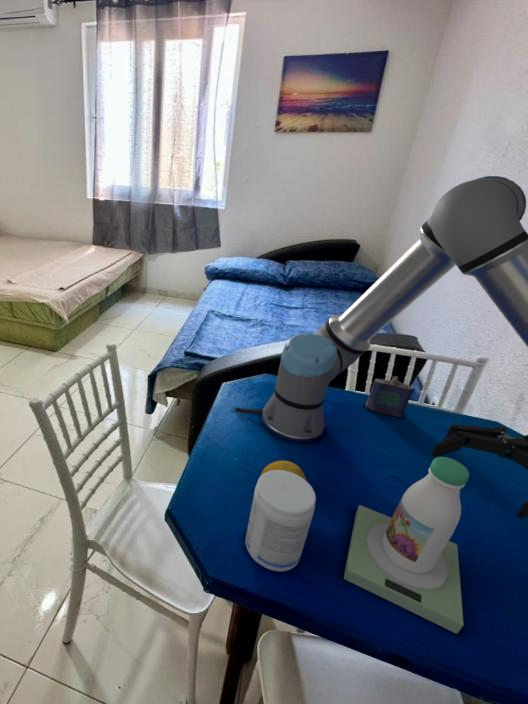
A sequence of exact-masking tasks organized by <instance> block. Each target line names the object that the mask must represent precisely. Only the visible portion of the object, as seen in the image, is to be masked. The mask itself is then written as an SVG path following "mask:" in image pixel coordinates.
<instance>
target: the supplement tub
mask: <svg viewBox="0 0 528 704" xmlns="http://www.w3.org/2000/svg"><path fill="white" fill-rule="evenodd" d="M316 501H317V497H316V492H315V490H314V488H313V486H312V485H311V484H310V483H309V482H308V481H307V479H306V480H304V479H303V478H301V477H300V476H298V475H296V474H294V473H291V472H288V471H283V470H273V471H268V472H266V473H264V474H263V475H261V474H260V476H259V478H258V480H257V483H256V485H255V488H254V493H253V498H252V504H251V509H250V514H249V518H248V525H247V530H246V534H245V535H246V536H245V546H246V549H247V551H248V553H249V555H250V557H251V558H252V559H253V560H254V561H255V562H256V564H259V565H260V566H262V567H264V568H265V569H267V570H269V571H273V572H287V571H290V570H292V569H294V568H295V567H296V566H297V565H298V564H299V562H300V560H301V557H302V553H303V550H304V547H305V543H306V540H307V536H308V533H309V530H310V527H311V523H312V520H313V517H314V512H315V508H316Z"/></svg>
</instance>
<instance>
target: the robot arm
mask: <svg viewBox="0 0 528 704" xmlns="http://www.w3.org/2000/svg"><path fill="white" fill-rule="evenodd" d="M526 208H527V198H526V195H525V191H524V190H523V189H522V187H521V186H520V185H518V183H516V182H515V181H514V180H511V179H509V178H507V177H504V176H501V175H500V176H499V175H486V176H482V177H478V178H475V179H472V180H467V181H465V182H464V181H463V182H462V183H459V184H458V185H456V186H453V187H452V188H450V189H449V190H448V191H447V192H445V193H444V194H443V195H442V196H441V198H440V199H439V200H438V201H437V203H436V204H435V206H434V207H433V211H432V213H431V216H430V217H429V218H427V220H426V221H425V222H424V223H423V224H422V225H421V226H420V227H419V232H420V233H419V239H417V241H416V242H414V244H412V245H411V246H410V248H408V249H407V250H406V251H405V252H404V254H402V255H401V256H400V257H399V259H397V260H396V261H395V262H394V263H393V264H392V265H391V266H390V267H389V268H388V269H387V270H386V271H385V272H384V273H383V274H382V275H381V276H380V277H379V278H378V279H377V280H376V281H375V282H374V283H373V284H372V285H371V286H370V287H368V289H367V290H366V291H365V292H364V293H363V294H362V295H361V296H360V297H359V298H358V299H357V300H356V301H355V302H354V303H353V304H352V305H351V306H349V308H347V310H345V312H344V313H342V314H334V315H332V316H331V317H330V318H329V319H328V320H327V321H326V322H325V323H324V324H323V325H322V326H321V327H320V328H319V329H318V330H317V331H316V332H315V333H305V334H303V333H300V334H297V335H294V336H292V337H290V338H289V339H287V341H286V342H285V344H284V347H283V349H282V352H281V356H280V363H279V367H278V372H277V377H276V382H275V388H274V391H273V394H272V395H271V396H270V397H269V400H267V402H266V404H265V405H264V407H263V409H256V408H255V409H254V408H242V407H235V412H239V413H245V414H257V415H258V414H259V415H261V417H260V418H261V422H262V424H263V426H264V427H265V428H266V429H267V431H269V432H270V433H271V434H272V435H275V436H276V437H278V438H281V439H282V440H286V441H289V442H294V443H311V442H314V441H317V440H318V439H320V438H321V437H322V435H323V434H324V430H325V425H326V422H327V420H326V419H325V416H324V407H323V405H324V401H325V398H326V394H327V391H328V387H329V384H331V382H332V381H333V380H334V379H335V378H336V377H337V376H339V375H340V374H341V373H342V372H344V371H345V370H346V369H347V368H349V367H350V366H352V365H353V364H355V362H356V361H357V360H358V359H359V358H360V357H361V356H362V355H363V354H365V353H366V352H367V351H369V349H370V348H371V345H372V344H371V339H372V338H373V337H375V336H376V335H377V334H378V333H379V332H381V330H382V329H384V328H385V327H386V326H387V325H388V324H389V323H391V322H392V321H393V320H394V319H395V318H396V317H398V316H399V315H400V314H401V313H402V312H404V311H405V310H406V309H407V308H408V307H409V306H410V305H411V304H413V303H414V302H415V301H416V300H417V299H419V298H420V297H421V296H422V295H424V293H425V292H427V291H428V290H429V289H430V288H432V287H433V286H434V285H435V284H436V283H437V282H438V281H439V280H441V279H442V278H443V277H444V276H445V275H446V274H448V273H449V272H450V271H451V270H452V269H453V268H454V267H455V266H456V267H457V268H458V270H459V271H460V273H462V275H464V276H469V277H474V278H475V279H476V281H477V282H478V283H479V285H480V287H481V288H482V289H483V290H484V292H485V293H486V295H487V296H488V297H489V298H490V299H491V301H492V302H493V303H494V305H495V307H497V309H498V310H499V312H500V313H501V314H502V316H503V317H504V318H505V320H506V321H507V323H508V324H509V325H510V326H511V328H512V329H513V330H514V332H515V333H516V335H518V337H519V338H520V339H521V341H522V342H523V343H524V345H525V346H526V347H527V348H528V232H527V231H526V230H525V228H524V226H523V224H522V223H521V220H522V219H523V217H524V215H525V213H526ZM507 431H508V429H507V428H506V427H504V426H495V427H488V426H487V427H486V426H477V425H476V426H475V425H468V424H467V425H465V424H453V423H452V424H451V425H450V426H449V428H448V430H447V433H446V436H444V437H443V439H442V441H439V442H436V444H435V445H434V446H435V447H434V449H433V451H432V453H431V456H433V458H434V459H435V458H437V457H443V456H446V455H448V454H451V453H454V452H458V451H461V450H462V449H463V448H466V449H467V448H468V449H472V450H476V451H481V452H485V453H489V454H494V455H497V456H498V457H499V458H503V459H507V460H510V461H513V462H514V463H516V464H518V465H520V466H521V467H523V468H524V469H526V471H528V434H526V435H524V436H523V437H512V436H511V435H509V434H508V433H507ZM507 451H508V452H507ZM516 517H517V518H519V519H521V520H524V519H526V518H528V501H525V502H524V503H523V504H522V506H521V507H520V509H519V510H518V512H516Z"/></svg>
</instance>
